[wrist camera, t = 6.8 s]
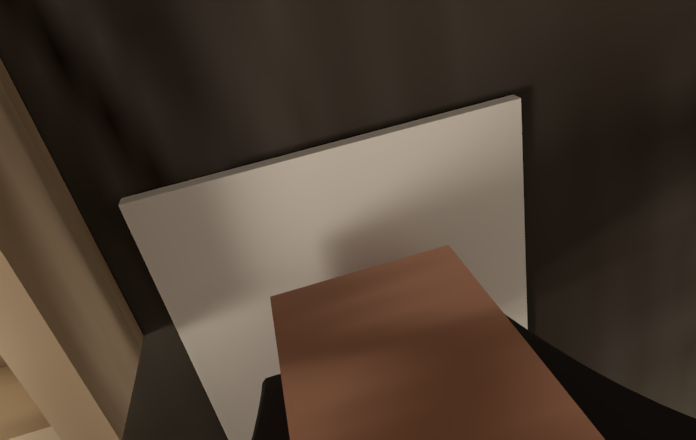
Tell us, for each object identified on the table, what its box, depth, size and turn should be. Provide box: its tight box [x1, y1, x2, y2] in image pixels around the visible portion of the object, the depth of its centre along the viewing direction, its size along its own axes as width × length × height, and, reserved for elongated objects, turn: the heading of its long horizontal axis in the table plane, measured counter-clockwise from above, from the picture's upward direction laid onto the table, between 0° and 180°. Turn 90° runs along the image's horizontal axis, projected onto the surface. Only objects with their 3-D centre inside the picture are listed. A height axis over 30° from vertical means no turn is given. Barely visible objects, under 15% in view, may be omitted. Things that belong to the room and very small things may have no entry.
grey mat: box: [118, 95, 528, 440], centre depth 15 cm, size 10×10×1 cm
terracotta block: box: [270, 244, 605, 440], centre depth 11 cm, size 4×4×6 cm
